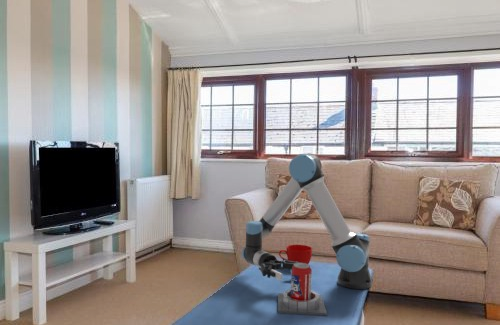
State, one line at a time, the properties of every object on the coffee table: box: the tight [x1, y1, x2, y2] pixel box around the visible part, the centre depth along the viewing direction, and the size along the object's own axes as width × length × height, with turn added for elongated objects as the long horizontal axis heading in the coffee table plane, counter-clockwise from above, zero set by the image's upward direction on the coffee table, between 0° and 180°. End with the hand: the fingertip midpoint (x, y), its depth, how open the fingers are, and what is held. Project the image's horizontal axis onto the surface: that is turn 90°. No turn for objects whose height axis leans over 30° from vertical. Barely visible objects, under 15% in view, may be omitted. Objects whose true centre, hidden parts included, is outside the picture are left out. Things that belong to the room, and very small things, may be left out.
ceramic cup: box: [278, 244, 313, 265], centre depth 214 cm, size 13×17×10 cm
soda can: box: [290, 263, 313, 300], centre depth 164 cm, size 8×8×15 cm
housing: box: [277, 288, 328, 316], centre depth 165 cm, size 18×18×4 cm
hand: (295, 274), depth 167 cm, fingers open, 13 cm apart
